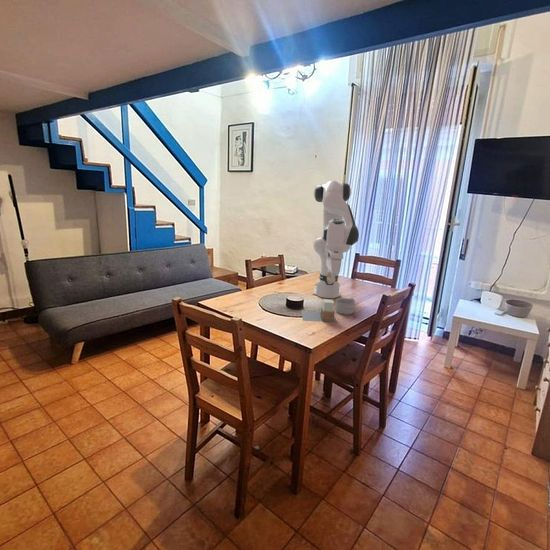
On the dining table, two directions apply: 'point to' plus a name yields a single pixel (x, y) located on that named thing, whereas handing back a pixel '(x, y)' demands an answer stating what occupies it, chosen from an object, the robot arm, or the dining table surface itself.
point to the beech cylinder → (329, 277)
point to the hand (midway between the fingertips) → (331, 278)
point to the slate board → (313, 316)
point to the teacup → (345, 306)
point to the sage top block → (328, 305)
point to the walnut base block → (327, 315)
